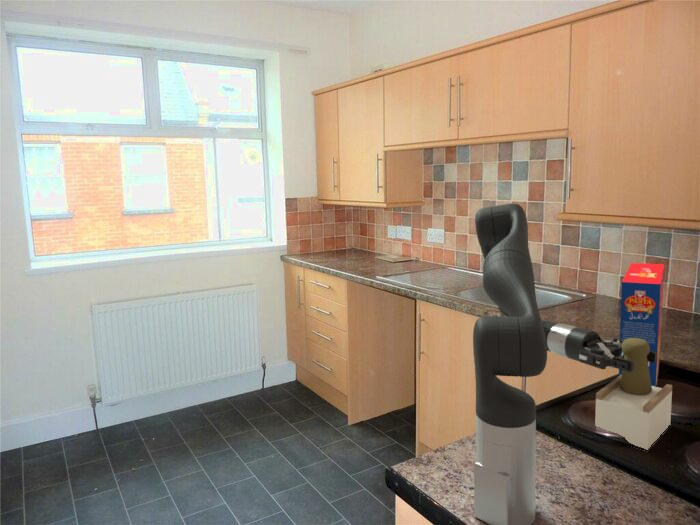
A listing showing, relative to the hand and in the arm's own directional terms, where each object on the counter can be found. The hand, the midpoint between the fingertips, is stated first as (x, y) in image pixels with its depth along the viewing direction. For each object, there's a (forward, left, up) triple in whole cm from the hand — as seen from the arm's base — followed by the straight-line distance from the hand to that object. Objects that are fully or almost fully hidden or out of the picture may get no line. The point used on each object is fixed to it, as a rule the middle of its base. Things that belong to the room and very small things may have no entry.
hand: (644, 362), depth 104 cm
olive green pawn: (+3, +2, -7) cm, 8 cm away
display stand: (0, +2, -16) cm, 16 cm away
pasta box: (+33, +11, -16) cm, 39 cm away
